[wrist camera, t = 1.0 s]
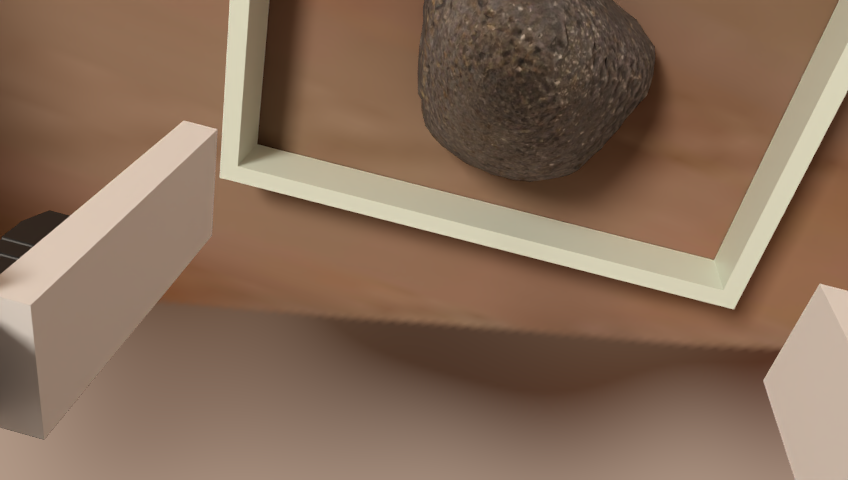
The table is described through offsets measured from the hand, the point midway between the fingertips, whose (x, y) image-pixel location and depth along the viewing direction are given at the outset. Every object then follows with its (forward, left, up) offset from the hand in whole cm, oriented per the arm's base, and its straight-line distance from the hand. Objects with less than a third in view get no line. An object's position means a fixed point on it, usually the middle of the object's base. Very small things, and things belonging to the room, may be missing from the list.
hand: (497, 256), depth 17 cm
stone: (0, -1, -18) cm, 18 cm away
